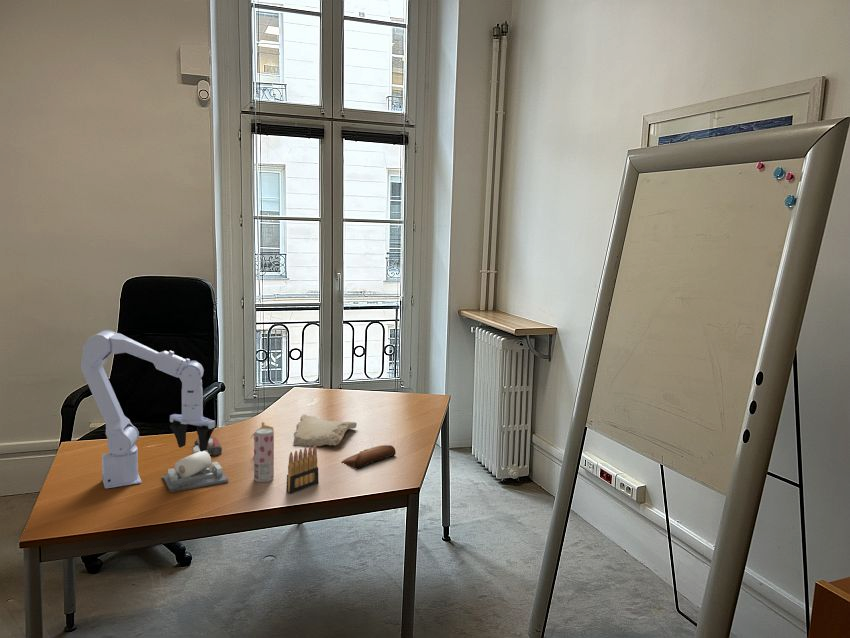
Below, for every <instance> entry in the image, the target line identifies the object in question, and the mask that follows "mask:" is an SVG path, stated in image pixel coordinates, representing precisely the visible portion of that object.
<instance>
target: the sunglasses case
mask: <svg viewBox="0 0 850 638" xmlns="http://www.w3.org/2000/svg"><path fill="white" fill-rule="evenodd" d="M396 453H397V452H396V449H395V447H394V446H393V445H391V444H386V445H385V444H384V445H378V446H374V447H370V448H367V449H364V450H361V451H359V453H356V454H354V455H351V456H348V457H346V458H345V459H343V460H342V461H341V464H343V463H344V464H343V465H345V464H346V466H349V467H350V468H352V467H353V468H352V469H355V468H356V469H355V470H357V469H360V468H362V467H364V466H366V465H369V464H371V463H373V462H376V461H379V460H382V459H385V458H388V457H392V456H394V455H395V456H396Z"/></svg>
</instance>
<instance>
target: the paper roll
mask: <svg viewBox="0 0 850 638" xmlns="http://www.w3.org/2000/svg"><path fill="white" fill-rule="evenodd" d="M211 466H212V458H211V456H210V455H209V453H208V452H206V451H203V452H201V451H199V452H197V453H194V454H193V453H192V454H190V455H187V456H185V457H182V458H181V459H178V460H177V461H176V462H175V464H174V470H175V472H176V474H177V475H178V476H179V477H180V478H183V479H185V478H187V477H189V476H191V475H193V474H196V473H198V472H200V471H202V470H204V469H206V468H208V467H211Z"/></svg>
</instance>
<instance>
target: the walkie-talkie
mask: <svg viewBox="0 0 850 638" xmlns="http://www.w3.org/2000/svg"><path fill="white" fill-rule="evenodd" d="M199 451H200V447H199V437H198V438H196V441H194V446H193V447H192V454H194V453H197V452H199ZM205 451H206V452H208V453H209V455H212V456H218V454H220V455H222V453H223V448H222V446H221V444H220V442H219V440H218V439H217V438H216V437H214V436H212V435H211V436H210V439H209V442H208V445H207V449H206V450H205Z"/></svg>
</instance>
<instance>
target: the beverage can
mask: <svg viewBox="0 0 850 638" xmlns="http://www.w3.org/2000/svg"><path fill="white" fill-rule="evenodd" d="M273 430H274V429H273ZM273 430H272V429H270V428H261V427H260V429H259V428H257V429H255V430H254V433H255V434H254V433H253V434H254V436H253V479H254V480H255V482H257V483H268V482H271V481H273V479H274V477H275V476H274V473H275V472H274V470H275V467H274V466H275V465H274V464H275V458H274V457H275V455H274V454H275V453H274V452H275V451H274V449H275V447H274V446H275V432H274V433H273Z"/></svg>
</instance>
